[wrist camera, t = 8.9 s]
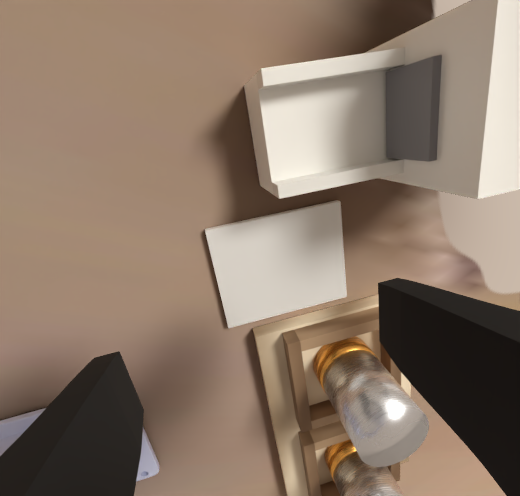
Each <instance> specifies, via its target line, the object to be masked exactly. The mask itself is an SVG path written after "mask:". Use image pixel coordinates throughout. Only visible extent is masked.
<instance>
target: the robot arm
mask: <svg viewBox="0 0 520 496" xmlns="http://www.w3.org/2000/svg"><path fill="white" fill-rule="evenodd" d="M378 297H379V341H380V343H381V344H382V346H383V347H384V349H385V350H386V352H387V353H388V355H389V356H390V358H391V359H392V360H393V362H394V363H395V365H396V366H397V367H398V369H399V370H400V371H401V373H402V374H403V375H404V376H405V377H406V378H407V380H408V381H409V382H410V383H411V384H412V385H413V386H414V387H415V389H416V390H417V391H418V392H419V393H420V394H421V395H422V396H423V398H424V399H425V400H426V401H427V402H428V403H429V404H430V405H431V406H432V407H433V409H434V410H435V411H436V412H437V413H438V414H439V415H440V416H441V417H442V419H443V420H444V421H445V422H446V423H447V424H448V425H449V426H450V427H451V429H452V430H453V431H454V432H455V433H456V434H457V435H458V436H459V437H460V439H461V440H462V441H463V442H464V443H465V444H466V445H467V446H468V448H469V449H470V450H471V451H472V452H473V453H474V455H475V456H476V457H477V458H478V459H479V461H480V462H481V463H482V464H483V465H484V467H485V468H486V469H487V471H488V472H489V473H490V475H491V476H492V477H493V478H494V480H495V481H496V482H497V484H498V485H499V486H500V488H501V489H502V490H503V492H504V493H505V494H506V495H507V496H520V311H517V310H513V309H510V308H506V307H502V306H498V305H495V304H491V303H487V302H484V301H480V300H477V299H473V298H470V297H466V296H463V295H459V294H456V293H452V292H449V291H446V290H442V289H439V288H435V287H432V286H428V285H425V284H421V283H417V282H413V281H409V280H405V279H400V278H396V279H392V280H388V281H384V282H381V283H378ZM143 413H144V410H143V407H142V405H141V402H140V400H139V398H138V395H137V393H136V390H135V388H134V385H133V383H132V381H131V378H130V376H129V373H128V371H127V369H126V366H125V364H124V361H123V359H122V357H121V354H120V352H115V353H111V354H107V355H103V356H100V357H96V358H94V359H93V360H92V361H91V362H90V363H89V364H87V365H86V366H85V368H84V369H83V370H82V371H81V372H80V373H79V374H78V375H77V376H76V377H75V378H74V379H73V380H72V381H71V382H70V383H69V384H68V385H67V387H66V388H65V389H64V390H63V391H62V392H61V393H60V394H59V395H58V396H57V397H56V398H55V400H54V401H53V402H52V403H51V404H50V405H49V406H48V407H47V408H44V409H40V410H37V411H33V412H30V413H26V414H22V415H19V416H15V417H12V418H8V419H5V420H1V421H0V496H134V491H135V485H136V481H139V480H142V479H145V478H148V477H151V476H154V475H156V474H157V473H158V472H159V467H160V466H159V463H158V460H157V458H156V456H155V453H154V451H153V449H152V446H151V444H150V442H149V439H148V437H147V434H146V432H145V430H144V427H143Z"/></svg>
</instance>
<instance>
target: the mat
mask: <svg viewBox="0 0 520 496" xmlns="http://www.w3.org/2000/svg"><path fill="white" fill-rule="evenodd" d="M205 233H206V237H207V241H208V245H209V250H210V254H211V258H212V262H213V266H214V270H215V274H216V279H217V283H218V287H219V291H220V295H221V299H222V304H223V308H224V312H225V316H226V320H227V324H228V328H232V327H235V326H239V325H243V324H247V323H250V322H254V321H258V320H262V319H265V318H269V317H273V316H277V315H280V314H284V313H288V312H292V311H295V310H299V309H303V308H307V307H310V306H314V305H318V304H322V303H325V302H329V301H333V300H337V299H340V298H344V297H347V293H346V278H345V262H344V247H343V231H342V216H341V201H339V200H336V201H331V202H326V203H322V204H317V205H313V206H308V207H303V208H299V209H294V210H290V211H285V212H280V213H276V214H271V215H267V216H262V217H257V218H253V219H248V220H243V221H239V222H234V223H230V224H225V225H220V226H216V227H211V228H207V229H205Z"/></svg>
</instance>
